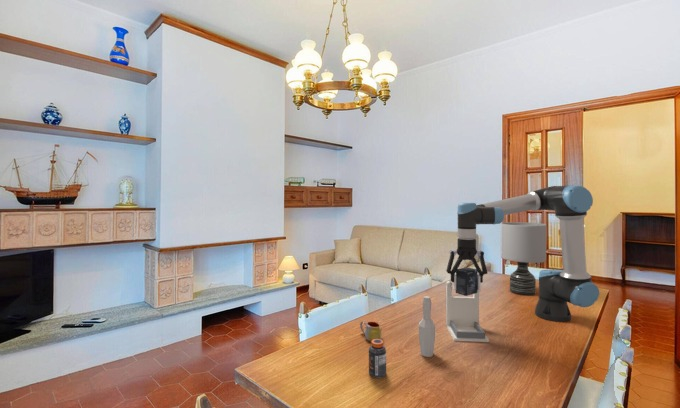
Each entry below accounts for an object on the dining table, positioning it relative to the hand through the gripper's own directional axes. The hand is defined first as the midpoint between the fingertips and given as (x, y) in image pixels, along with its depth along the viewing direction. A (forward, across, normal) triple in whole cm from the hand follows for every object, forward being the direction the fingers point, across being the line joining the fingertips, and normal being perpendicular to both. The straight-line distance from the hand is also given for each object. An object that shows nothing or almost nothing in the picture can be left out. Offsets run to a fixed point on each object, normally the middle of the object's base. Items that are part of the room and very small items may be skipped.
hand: (466, 289), depth 142 cm
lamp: (+20, -51, -65) cm, 85 cm away
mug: (+20, +42, +7) cm, 47 cm away
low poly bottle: (+20, +20, +20) cm, 34 cm away
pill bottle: (+20, +39, +36) cm, 56 cm away
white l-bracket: (+19, 0, 0) cm, 19 cm away
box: (+2, 0, 0) cm, 2 cm away
